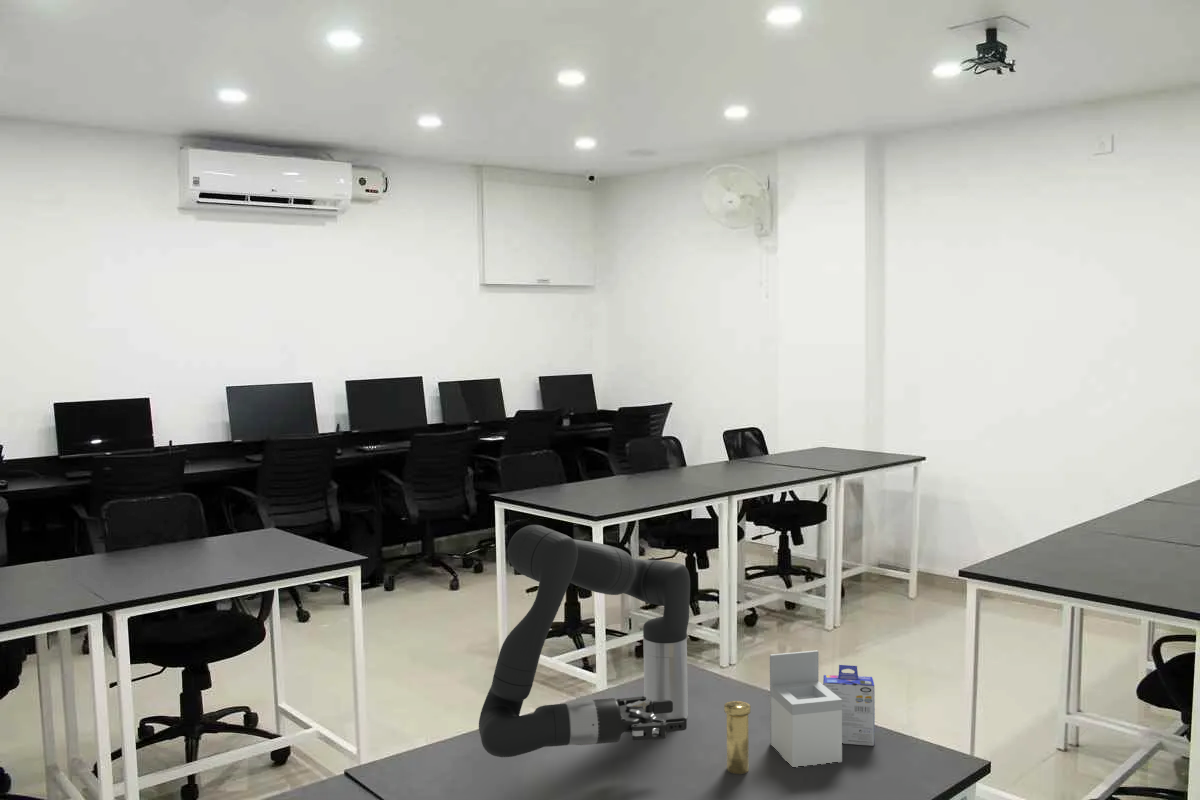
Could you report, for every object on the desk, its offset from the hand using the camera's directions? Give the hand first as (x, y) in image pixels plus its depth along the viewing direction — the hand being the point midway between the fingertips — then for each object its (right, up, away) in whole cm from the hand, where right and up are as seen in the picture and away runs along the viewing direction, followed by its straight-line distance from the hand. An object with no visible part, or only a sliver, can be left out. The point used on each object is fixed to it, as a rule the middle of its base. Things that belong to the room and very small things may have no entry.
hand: (679, 714), depth 169 cm
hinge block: (+25, -11, +9) cm, 29 cm away
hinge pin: (+11, -11, +3) cm, 16 cm away
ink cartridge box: (+35, -11, +16) cm, 40 cm away
